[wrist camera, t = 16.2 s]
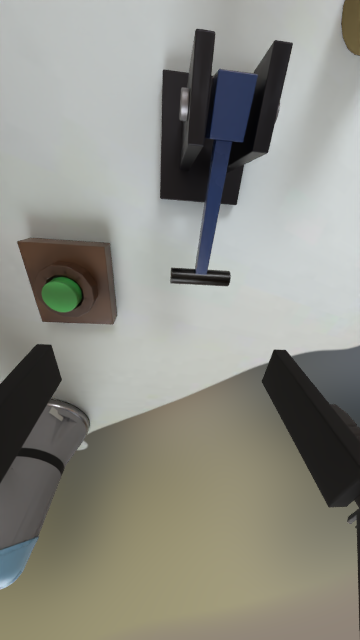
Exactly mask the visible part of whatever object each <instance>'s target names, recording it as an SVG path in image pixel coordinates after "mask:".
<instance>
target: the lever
mask: <svg viewBox="0 0 360 640" xmlns="http://www.w3.org/2000/svg"><path fill="white" fill-rule="evenodd" d="M257 78H258V74H253V73H246V72H239V71H231V70H224V69H219V70H218V71H217V72H216V74H215V75H214V76H213V78H212V85H211V93H210V101H209V109H208V117H207V125H206V133H205V138H208V139H214V142H213V149H212V156H211V163H210V170H209V177H208V184H207V190H206V197H205V204H204V211H203V218H202V225H201V231H200V238H199V245H198V252H197V259H196V266H195V269H186V268H171V279H170V283H175V284H194V285H213V286H228V285H229V283H230V272H229V271H219V270H208V265H209V260H210V254H211V249H212V244H213V239H214V234H215V229H216V223H217V218H218V213H219V208H220V203H221V198H222V192H223V187H224V182H225V177H226V172H227V167H228V161H229V156H230V151H231V146H232V141H234V142H243V141H244V137H245V132H246V127H247V123H248V118H249V114H250V109H251V105H252V100H253V96H254V91H255V87H256V82H257Z"/></svg>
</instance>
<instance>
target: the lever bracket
mask: <svg viewBox="0 0 360 640" xmlns="http://www.w3.org/2000/svg"><path fill="white" fill-rule="evenodd" d="M214 42H215V32H214V31H209V30H202V29H196V31H195V37H194V44H193V50H192V57H191V63H190V70H189V73H186V72H178V71H171V70H163V90H162V140H161V189H160V198H161V199H171V200H183V201H194V202H205V197H206V190H207V184H208V177H209V170H210V163H211V156H212V149H213V142H214V139H208V138H205V133H206V125H207V117H208V109H209V101H210V93H211V85H212V78H213V76H211V72H212V62H213V52H214ZM292 45H293V43H290V42H284V41H277V40H275V41H274V42H273V44H272V45H271V47H270V48H269V50H268V51H267V53H266V54H265V56H264V57H263V59H262V60H261V62H260V64H259V65H258V67H257V68H256V70H255V71H254V73H253V74H258V78H257V82H256V87H255V91H254V96H253V100H252V105H251V109H250V114H249V118H248V123H247V127H246V132H245V137H244V141H243V142H234V141H232V146H231V151H230V156H229V161H228V167H227V172H226V177H225V182H224V187H223V192H222V198H221V203H220V204H230V205H237V200H238V194H239V189H240V183H241V178H242V173H243V167H244V164H246V163H248V162H250V161H252V160H254V159H256V158H259V157H261V156H263V155H265V154H267V153H268V150H269V146H270V142H271V137H272V133H273V128H274V124H275V122H276V119H277V116H278V113H279V107H280V98H281V94H282V89H283V85H284V80H285V76H286V72H287V67H288V63H289V59H290V54H291V50H292Z"/></svg>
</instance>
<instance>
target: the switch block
mask: <svg viewBox="0 0 360 640" xmlns="http://www.w3.org/2000/svg"><path fill="white" fill-rule="evenodd" d="M17 243H18V246H19V249H20V252H21V255H22V259H23V262H24V265H25V268H26V271H27V274H28V278H29V281H30V284H31V287H32V290H33V293H34V296H35V300H36V303H37V306H38V309H39V312H40V315H41V319H42V322H63V323H89V324H113V323H114V321H115V319H116V317H117V310H116V299H115V289H114V279H113V268H112V258H111V248H110V243H101V242H86V241H71V240H56V239H42V238H28V239H24V240H20V241H17ZM57 277H66V278H69V279H71V280H73V281H74V282H76V283H77V284H78V286H79V287H80V289H81V291H82V299H81V301H80V303H79V304H78V305H77V306H76V307H75V308H74V309H73V310H72V311H69V312H58V311H55V310H53V309H52V308H50V307H49V306H48V305H47V304H46V303H45V302H44V300H43V298H42V288H43V286H44V285H45V284H47V283H48V282H50V281H51V280H53V279H54V278H57Z"/></svg>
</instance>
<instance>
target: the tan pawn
mask: <svg viewBox="0 0 360 640" xmlns="http://www.w3.org/2000/svg"><path fill="white" fill-rule="evenodd" d="M341 25H342V34H343V39H344V41H345V44H346V46H347V48H348V49H349V50H350V51H351V52H352V53H354V54H355V55H360V0H345V2H344V6H343V13H342V23H341Z"/></svg>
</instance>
